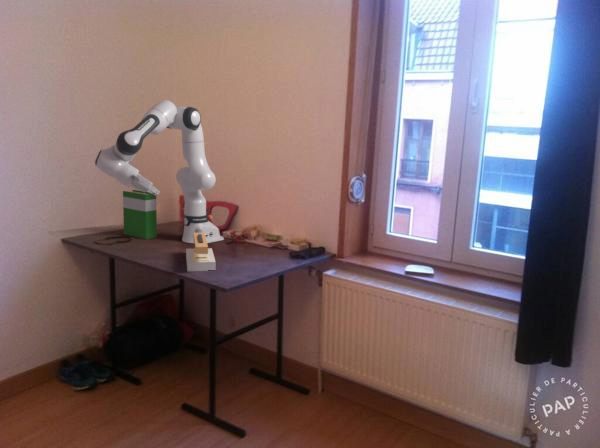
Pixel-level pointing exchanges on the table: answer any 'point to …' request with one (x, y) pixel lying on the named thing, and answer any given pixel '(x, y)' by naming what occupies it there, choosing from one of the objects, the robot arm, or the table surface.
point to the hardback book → (139, 214)
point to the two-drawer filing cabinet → (200, 260)
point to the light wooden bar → (200, 242)
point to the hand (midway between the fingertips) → (158, 194)
